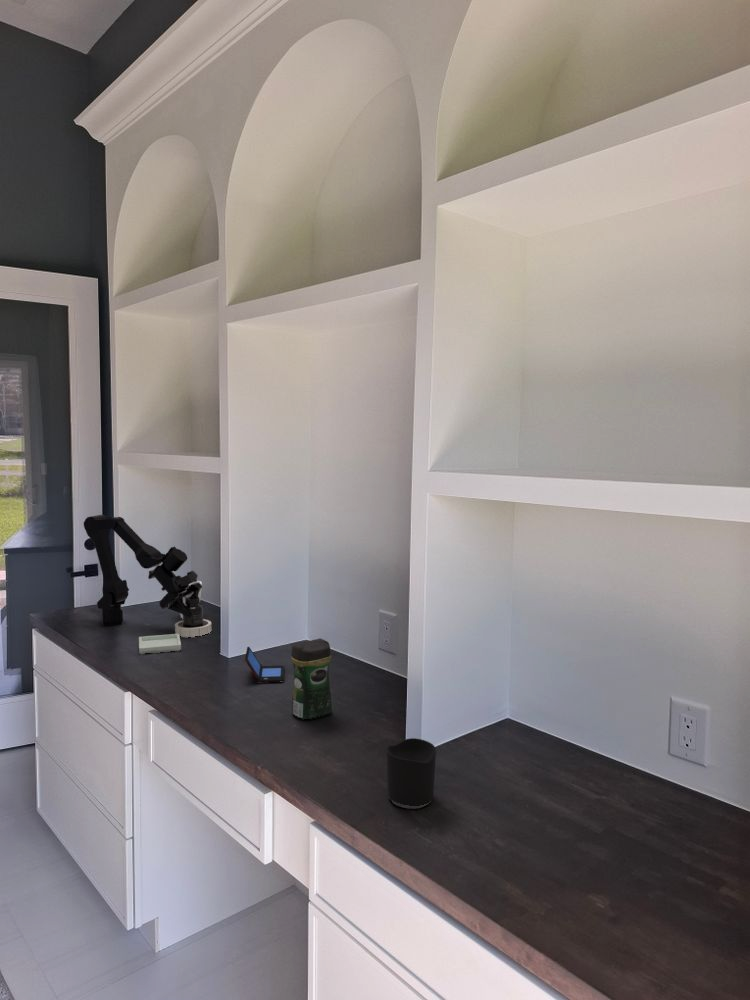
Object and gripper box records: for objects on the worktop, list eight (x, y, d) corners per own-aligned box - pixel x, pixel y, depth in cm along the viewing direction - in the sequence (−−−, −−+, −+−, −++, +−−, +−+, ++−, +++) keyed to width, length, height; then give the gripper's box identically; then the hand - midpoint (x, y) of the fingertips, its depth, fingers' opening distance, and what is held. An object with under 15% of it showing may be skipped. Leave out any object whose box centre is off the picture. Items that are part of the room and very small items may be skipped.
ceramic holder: (176, 638, 237) (175, 629, 236) (174, 628, 248) (174, 620, 248) (212, 635, 240) (212, 627, 240) (209, 626, 252) (209, 617, 251)
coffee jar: (319, 704, 182) (319, 633, 180) (336, 714, 175) (336, 641, 173) (286, 713, 176) (286, 640, 174) (302, 723, 170) (302, 648, 168)
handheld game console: (284, 684, 197) (283, 658, 196) (244, 685, 195) (244, 659, 195) (284, 668, 209) (284, 644, 208) (247, 669, 208) (247, 645, 207)
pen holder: (436, 812, 131) (436, 761, 130) (385, 811, 132) (385, 759, 130) (434, 787, 140) (434, 738, 139) (386, 785, 141) (387, 737, 140)
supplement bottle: (204, 629, 248) (203, 595, 247) (202, 634, 241) (202, 600, 240) (184, 629, 247) (183, 596, 246) (182, 635, 240) (181, 600, 239)
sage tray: (139, 654, 220) (139, 648, 220) (139, 642, 232) (139, 636, 232) (181, 650, 224) (181, 644, 224) (179, 639, 236) (178, 633, 235)
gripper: (166, 570, 234) (195, 605, 232) (197, 560, 252) (224, 592, 249) (146, 591, 237) (175, 626, 235) (178, 580, 255) (205, 612, 253)
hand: (196, 613), depth 243 cm, fingers closed on supplement bottle, 7 cm apart
